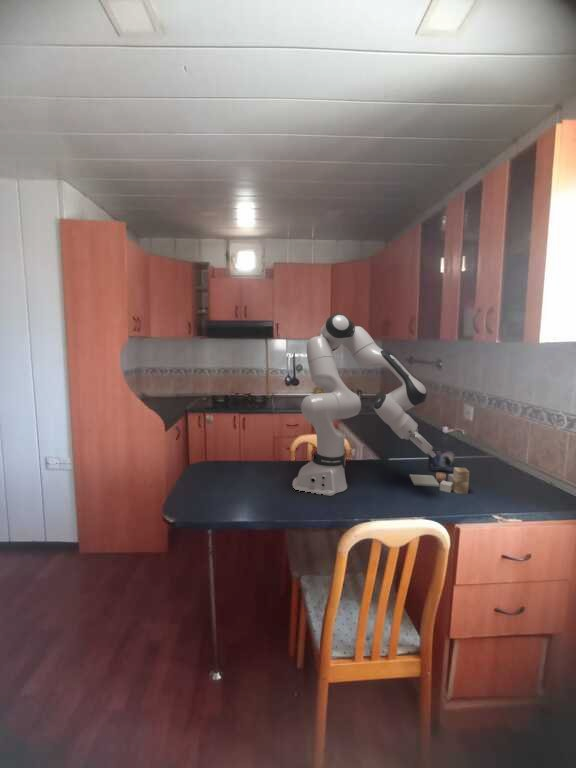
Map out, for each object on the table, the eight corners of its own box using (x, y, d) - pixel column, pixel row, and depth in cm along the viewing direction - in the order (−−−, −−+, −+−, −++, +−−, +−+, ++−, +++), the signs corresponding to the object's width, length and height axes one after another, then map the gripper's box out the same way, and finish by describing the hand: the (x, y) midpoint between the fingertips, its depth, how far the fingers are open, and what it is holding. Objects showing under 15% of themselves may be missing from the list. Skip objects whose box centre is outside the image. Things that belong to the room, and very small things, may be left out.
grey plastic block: (453, 484, 154) (453, 477, 154) (447, 480, 158) (448, 474, 157) (461, 483, 154) (462, 477, 154) (456, 480, 158) (456, 473, 158)
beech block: (455, 493, 145) (457, 471, 144) (452, 488, 149) (453, 467, 148) (467, 493, 144) (469, 472, 143) (463, 489, 149) (465, 467, 148)
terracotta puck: (437, 482, 156) (437, 475, 156) (434, 478, 160) (435, 471, 160) (446, 482, 156) (447, 475, 155) (444, 478, 160) (444, 472, 159)
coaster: (414, 485, 152) (414, 483, 152) (409, 476, 162) (409, 474, 162) (439, 486, 151) (439, 484, 151) (432, 477, 161) (432, 475, 161)
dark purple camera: (429, 471, 168) (430, 449, 167) (427, 466, 175) (428, 445, 173) (454, 473, 166) (455, 451, 164) (451, 468, 172) (452, 446, 171)
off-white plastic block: (439, 490, 148) (440, 483, 147) (442, 487, 151) (442, 480, 151) (450, 493, 145) (450, 485, 145) (452, 489, 148) (453, 482, 148)
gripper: (420, 429, 135) (445, 455, 136) (404, 417, 156) (426, 439, 157) (407, 440, 136) (433, 466, 137) (393, 427, 156) (415, 449, 157)
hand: (429, 452), depth 147 cm, fingers open, 8 cm apart
